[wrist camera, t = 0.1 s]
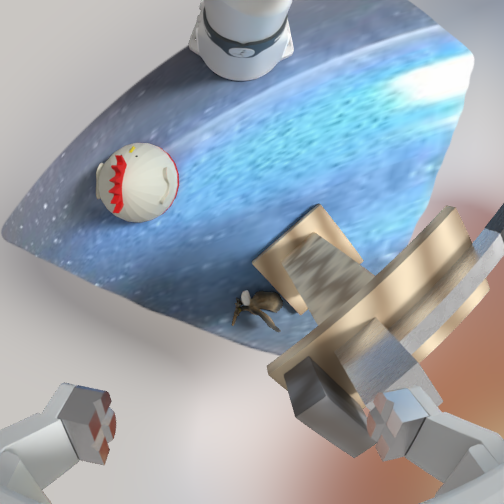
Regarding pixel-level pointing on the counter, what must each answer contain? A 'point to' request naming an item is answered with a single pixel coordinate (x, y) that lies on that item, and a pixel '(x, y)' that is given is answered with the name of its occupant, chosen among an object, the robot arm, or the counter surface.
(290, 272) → the shelf
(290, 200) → the counter surface
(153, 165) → the kitchen timer
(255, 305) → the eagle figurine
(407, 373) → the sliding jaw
